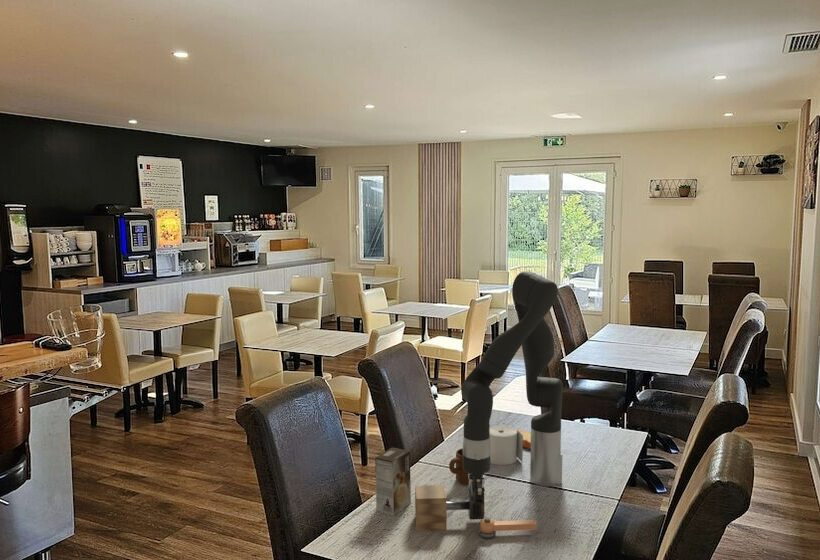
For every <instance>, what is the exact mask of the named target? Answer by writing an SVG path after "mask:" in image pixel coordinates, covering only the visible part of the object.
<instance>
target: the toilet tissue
mask: <svg viewBox="0 0 820 560" xmlns="http://www.w3.org/2000/svg"><path fill="white" fill-rule="evenodd" d="M517 430H518V429H515V428H514V427H511V426H506V425H494V426H493V425H492V426H490V464H493V465H501V466H507V465H512V464H514V463H516V462H517V459H518V460H520V462H521V463H523V462H524V461H523V453H524V451H523V450H524V448H523V435H522V434H521V433H520V432H519V431H517Z"/></svg>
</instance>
